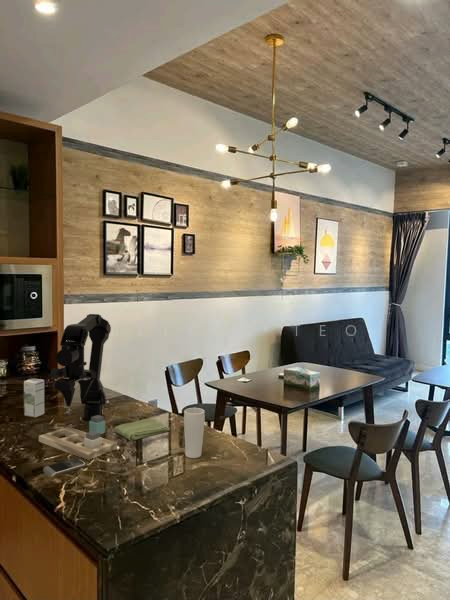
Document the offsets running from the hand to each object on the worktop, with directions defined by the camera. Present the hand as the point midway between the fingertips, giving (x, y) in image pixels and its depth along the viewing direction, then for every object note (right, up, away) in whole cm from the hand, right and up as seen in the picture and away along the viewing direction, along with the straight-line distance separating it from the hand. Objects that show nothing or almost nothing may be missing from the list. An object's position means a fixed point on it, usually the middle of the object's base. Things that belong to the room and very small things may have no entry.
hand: (75, 402), depth 163 cm
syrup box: (-24, -10, +21) cm, 34 cm away
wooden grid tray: (+4, -13, -9) cm, 16 cm away
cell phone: (+6, -14, -27) cm, 32 cm away
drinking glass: (+44, -14, -16) cm, 48 cm away
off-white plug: (+10, -13, -14) cm, 21 cm away
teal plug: (+7, -12, +3) cm, 14 cm away
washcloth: (+23, -13, +5) cm, 27 cm away
